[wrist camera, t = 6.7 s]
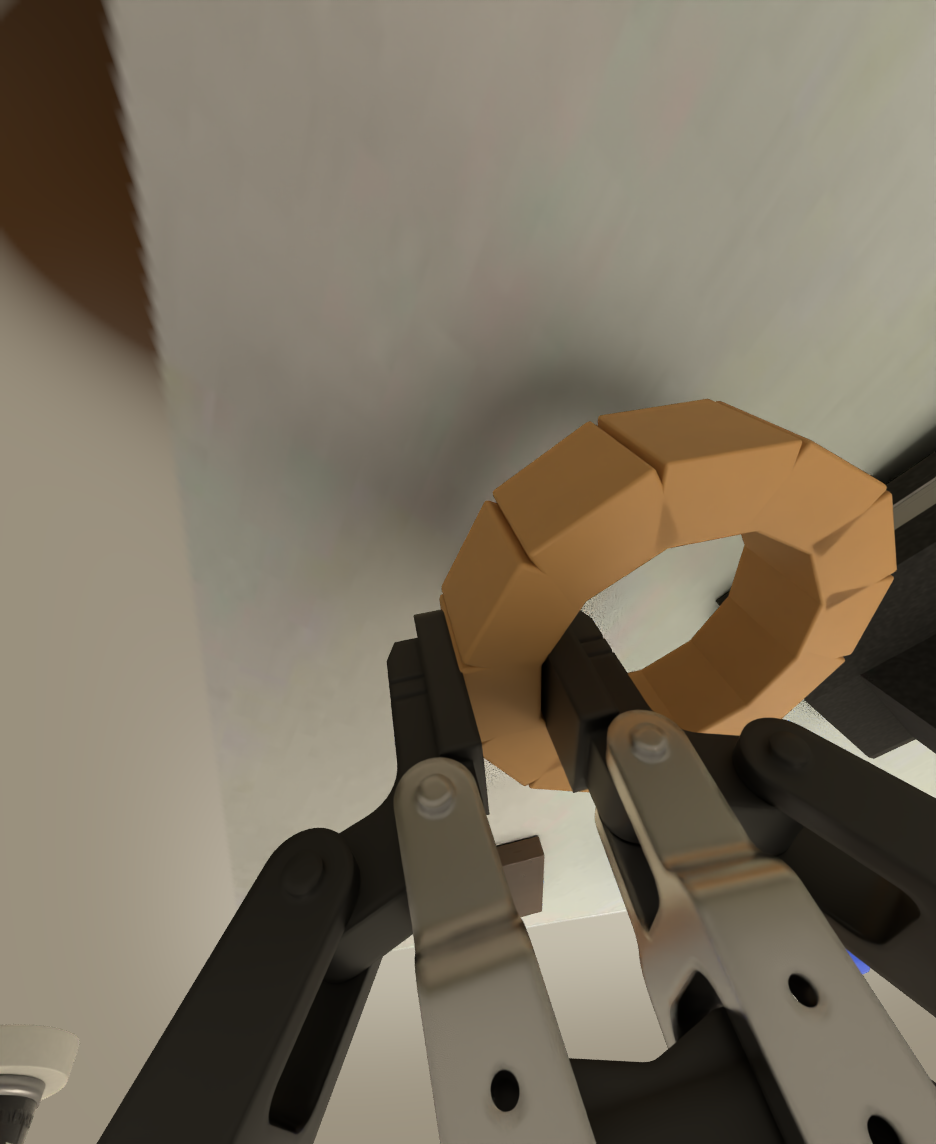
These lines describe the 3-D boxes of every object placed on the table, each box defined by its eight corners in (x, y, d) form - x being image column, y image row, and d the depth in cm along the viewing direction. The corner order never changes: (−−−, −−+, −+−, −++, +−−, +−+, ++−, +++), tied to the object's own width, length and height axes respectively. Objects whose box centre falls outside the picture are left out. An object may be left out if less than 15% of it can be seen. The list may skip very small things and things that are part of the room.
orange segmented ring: (461, 745, 14) (479, 826, 12) (415, 442, 8) (436, 503, 7) (744, 678, 15) (803, 742, 13) (864, 373, 10) (993, 407, 8)
